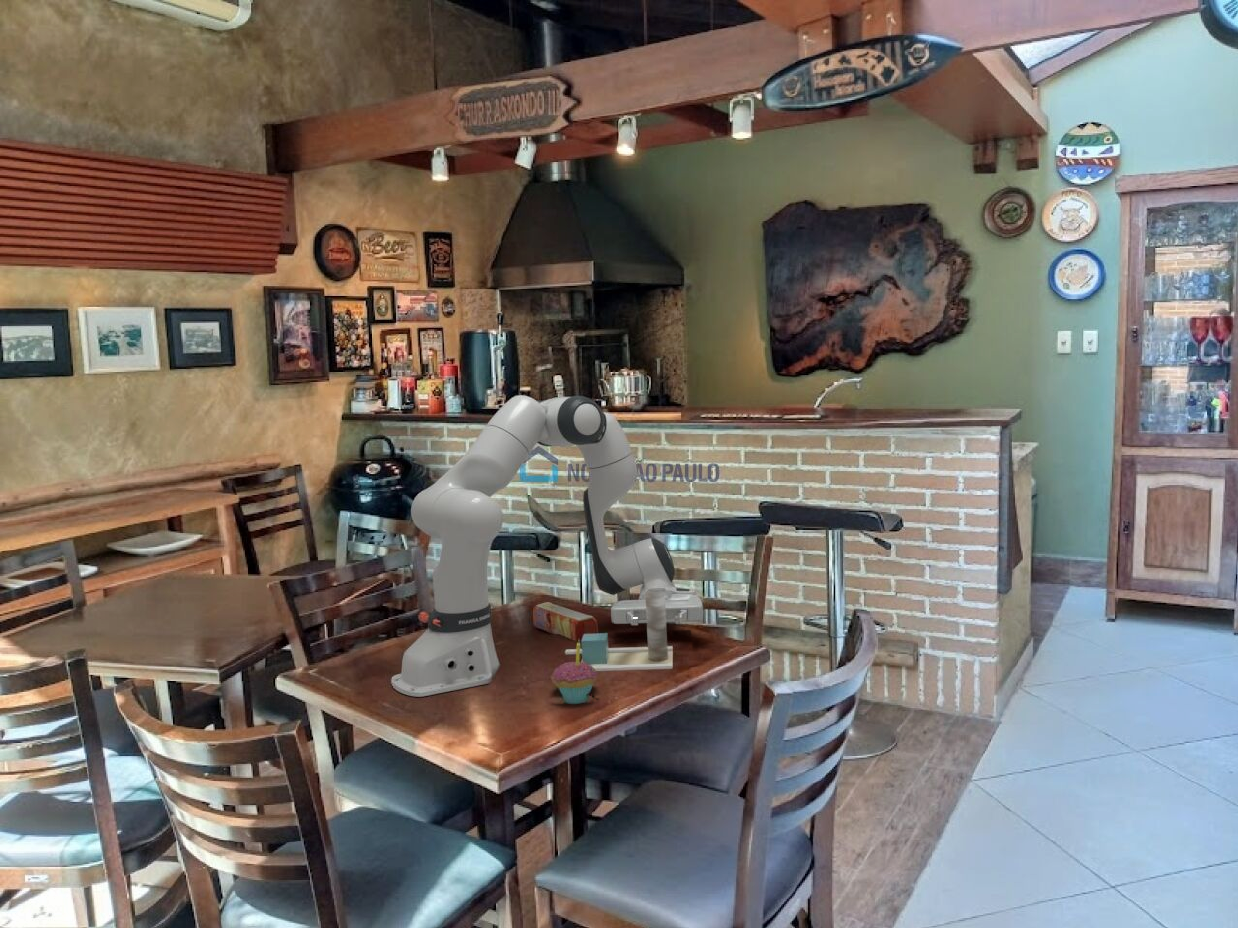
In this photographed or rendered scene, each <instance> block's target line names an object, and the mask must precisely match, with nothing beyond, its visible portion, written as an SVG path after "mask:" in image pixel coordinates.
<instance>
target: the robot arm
mask: <svg viewBox="0 0 1238 928" xmlns="http://www.w3.org/2000/svg"><path fill="white" fill-rule="evenodd" d="M537 444H538V445H540V446H544V447H561V448H562V447H563V448H565V447H572V446H574V447H575V446H576V447H577V448H578V449H579V451H580V453H582V456H583V459H584V463H585V465H586V468H587V471H588V477H589V478H588V481H589V482H588V486H587V487H586V489H585V490H584V491H583V495H582V502H583V504H582V505H583V511H584V518H585V523H586V530H587V535H588V540H589V541H588V542H589V546H590V551H591V556H592V557H591V558H592V574H593V578H594V579H593V580H594V581H595V584H596V586H597V587H598V589H599V590H600V591H602V592H604V593H606V594H609V595H612V596H615V595H618V594H620V593H622V592H624V591H627V590H628V589H631V588H634V587H638V586H640V591H639V597H638V599H625V600H618V601H616V602H615V603H613V605H612V606H611V608H610V617H611V623H612V624H615V625H619V624H625V625H627V624H630V625H631V626H639V624H647V618H646V598H645V592H647V591H651V590H662V591H664V592H665V609H666V624H667V623H675V624H676V625H683V623H685V622H686V623H687V622H688V623H689V622H690V623H691V622H692V623H693V622H701V621H703V620H704V605H703V601H702V599H701V598H700V597H699V596H698V595H696V590H694V589H690V588H682V587H681V588H680V587H676V585H675V583H674V581H673V580H674V579H675V576H676V569H675V566H674V562H673V558H672V556H671V554H670V553H671V552H670V551H669V548H668V547H667V545H666V544H664V542H662V541H660V540H659V539H657V538H655V537H650V538H646V539H644V540H639V541H637V542H635V543H634V542H633V544H629V545H626V546H622V547H619V548H617V549H612V550H611V549H610V548H609V546H608V541H607V535H606V530H605V523H604V518H605V514H606V512H608V510H609V509H610V508H611V507H612V506H614V505H615V504H616V503H617V502H618V501H620V500H621V499H622V498H623V497H625V496H626V494H627V493H629V491H631V489H632V487H633V486H634V484H635V482H636V480H637V477H638V466H637V463H636V459H635V456H634V452H633V450H632V447H631V445H630V443H629V440H628V438H627V436H626V433H625V431H624V430H623V427H622V426H621V424H620V423H619V420H618V419H617V418H616V417H615V416H614V415H613V414H612V413H610V412H605V411H604V412H603V410H602V409H601V407H600V406H599V405H598V404H597V402H595V401H594V400H593V399H591V398H589V397H586V396H583V395H574V396H573V395H572V396H557V397H553V398H549V399H543V400H540V401H537V400H536V399H535V398H532V397H530V396H529V395H528V396H527V395H522V394H521V395H520V394H519V395H514V396H513V397H511V398H510V399H509V400H507V401H506V402H505V403H504V404H503V405H502V406H501V407H500V408H499V409H498V410H497V411H496V413H495V414H494V415H493V416H492V417H491V419H490V420H489V421H488V423H486V425H485V426H484V428H483V429H482V431H481V432H480V433H479V435H478V436H477V438H475V441H474V442H473V443H472V444H471V445H470V447H469V448H468V450H467V451H466V453H464V455H463V456H462V457H461V458H460V459H459V460H458V461H457V462H456V463H455V464H453V466H452V467H451V468H450V469H448V470H447V471H446V472H445V473H444V474H443V475H442V476H440V477H439V478H438V480H437V481H436V482H434V483H433V484H432V485H430V486H429V487H428V488H426V489H423V490H421V491H420V492H419V493H418V494H417V495H416V496H415V497H414V500H413V501H412V503H411V506H410V507H411V508H410V515H411V520H412V521H413V524H414V525H415V526H416V527H417V528H418V529H420V531H422V532H423V533H424V534H426V535H428V536H429V537H432V538H434V539H435V538H436V539H440V540H441V551H440V557H439V562H438V563H437V565H435V568H434V569H433V572H432V584H433V585H432V587H433V598H434V599H433V600H434V609H433V610H432V612H431V613H430V614H429V612H426V611H421V612H419V614H418V617H417V618H418V620H419V622H422V623H425V624H426V623H427V627H428V628H427V629H426V630H425V631H424V632H423V633H422V634H421V635H420V636H419V637H418V638H417V639H416V640H415V641H414V642H413V643H412V644H411V645H410V646H409V647H408V648H407V649H406V650H405V651H404V653H403V656H402V662H401V672H400V673H398V674H395V675H393V676H392V677H391V681H390V682H391V683H390V685H391V684H392V685H391V687H392V686H393V687H392V688H393V689H395V691H397V692H399V693H401V694H403V695H407V696H410V697H418V698H422V697H426V696H432V695H437V694H442V693H448V692H451V691H452V692H453V691H457V690H462V689H467V688H473V687H477V686H482V685H487V684H490V683H491V682H492V680H493V678H494V676H495V675H496V674H497V671H498V669H499V668H500V667H501V664H500V661H499V658H498V655H497V650H496V647H495V643H494V637H493V632H492V629H493V613H492V606H491V605H492V604H491V603H490V601H489V587H488V585H489V584H488V563H489V562H488V561H489V556H490V551H491V547H492V544H493V541H494V539H495V538H497V537H498V535H499V534H500V532H501V529H502V527H503V523H504V515H503V514H504V513H503V510H502V508H501V506H500V504H499V503H498V502H497V500H496V499H494V498H492V496H494V495H495V494H496V493H497V492H500V491H501V490H503V489H505V488H506V487H507V486H509V484H510V483H511V482H512V481H513V479H514V478H515V476H516V474H517V473H518V472H519V470H520V469H521V467H522V466H523V464H524V463H525V462H526V460H527V459H528V457H529V456H530V454H531V452H532V451H533V449H534V447H535V446H536V445H537Z"/></svg>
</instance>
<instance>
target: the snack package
mask: <svg viewBox="0 0 1238 928" xmlns="http://www.w3.org/2000/svg"><path fill="white" fill-rule="evenodd" d="M532 618H533V619H532V620H533V625H534V627H535V628H536V629H540V630H542V631H544V632H547V633H549V634H550V635H560V636H562V637H565V638H568V639H570V640H571V641H573V642H578V640H580V641H582V638H583V635H584V634H597V633H599V629H598V627H599V626H598V621H597V620H596V618H595V616H594V615H593V616H592V615H589V614H586V613H582V612H579V611H575V610H573V609H570V608H568V607H563V606H560V605H558V604H554V603H552V602H550V601H549V602H548V601H547V602H546V601H545V602H543V603H542V602H541V603H539V604H537V605H535V606H534V607H533V610H532ZM580 641H579V642H580Z"/></svg>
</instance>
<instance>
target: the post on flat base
mask: <svg viewBox="0 0 1238 928" xmlns="http://www.w3.org/2000/svg"><path fill="white" fill-rule="evenodd" d="M645 598H646V618H647V623H646V633H647V634H646V636H647V638H646V639H647V647H648V652H623V653H609V658H608V662H607V664H590V665H591V666H604V665H636V664H669V663H672V664H674V663H673V661H674V660H673V657H674V656H673V655H674V654H673V653H674V650H673V651H667V646H668V635H667V634H668V633H667V632H668V631H667V623H666V609H665V592H664V591H662V590H651V591H647V592H645ZM580 662H583V659H582V658H581V661H580Z"/></svg>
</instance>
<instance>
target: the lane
mask: <svg viewBox="0 0 1238 928" xmlns="http://www.w3.org/2000/svg"><path fill="white" fill-rule="evenodd" d="M576 649H577V648H574V649H571V648H569V649H565V651H564V655H576ZM673 649H674V648H673V645H667V651H673V652H674V650H673ZM608 651H609V653H634V652H648V646H638V647H637V646H636V647H635V646H634V647H633V646H632V647H629V646H628V647H608ZM580 654H581V655H582V648H580ZM673 664H674V663H673ZM673 664H672V663H669V664H636V665H604V666H592V667H593V668H594V669H595V672H605V671H636V670H639V671H640V670H643V671H644V670H665V669H666V670H671V669H673V667H674V665H673Z"/></svg>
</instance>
